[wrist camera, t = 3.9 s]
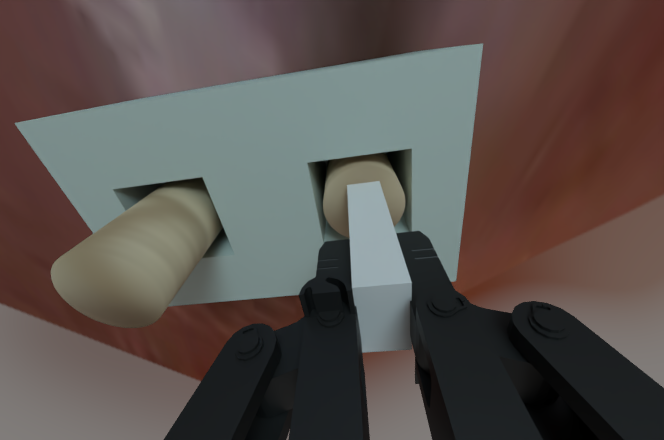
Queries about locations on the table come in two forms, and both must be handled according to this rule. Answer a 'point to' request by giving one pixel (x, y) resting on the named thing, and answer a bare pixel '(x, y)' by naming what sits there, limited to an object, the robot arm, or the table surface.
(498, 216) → the table surface
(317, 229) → the socket block
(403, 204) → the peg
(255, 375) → the robot arm
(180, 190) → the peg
